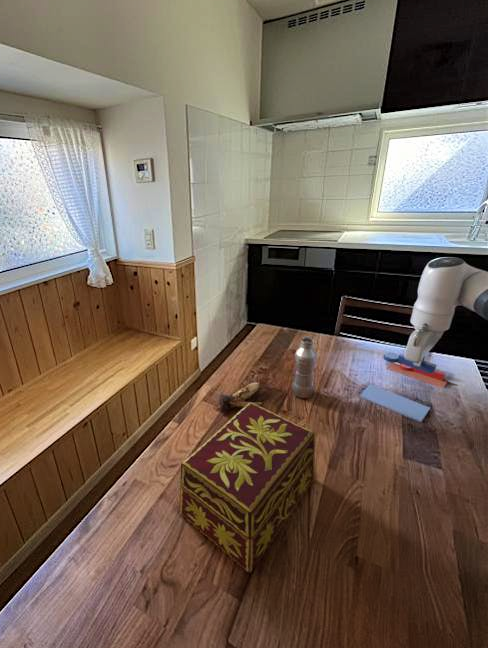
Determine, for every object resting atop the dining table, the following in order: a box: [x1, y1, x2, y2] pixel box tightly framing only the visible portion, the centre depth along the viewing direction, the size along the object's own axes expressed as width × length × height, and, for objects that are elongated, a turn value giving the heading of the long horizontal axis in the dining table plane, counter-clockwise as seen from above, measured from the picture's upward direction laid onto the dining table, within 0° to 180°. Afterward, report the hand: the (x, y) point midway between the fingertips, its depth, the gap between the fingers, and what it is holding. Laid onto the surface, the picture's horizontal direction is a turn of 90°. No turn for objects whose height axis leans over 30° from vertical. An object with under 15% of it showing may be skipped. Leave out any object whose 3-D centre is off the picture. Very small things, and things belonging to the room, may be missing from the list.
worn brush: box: [217, 381, 263, 413], centre depth 106 cm, size 9×5×18 cm
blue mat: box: [359, 384, 431, 423], centre depth 102 cm, size 17×8×1 cm, turn 42°
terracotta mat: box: [386, 362, 449, 389], centre depth 115 cm, size 17×8×1 cm, turn 42°
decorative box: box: [179, 401, 316, 574], centre depth 74 cm, size 28×19×15 cm
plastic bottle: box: [291, 336, 318, 399], centre depth 105 cm, size 6×7×20 cm
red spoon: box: [399, 363, 447, 381], centre depth 114 cm, size 13×4×2 cm, turn 42°
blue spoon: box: [383, 351, 437, 374], centre depth 97 cm, size 13×4×2 cm, turn 41°
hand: (419, 362), depth 95 cm, fingers closed on blue spoon, 1 cm apart
